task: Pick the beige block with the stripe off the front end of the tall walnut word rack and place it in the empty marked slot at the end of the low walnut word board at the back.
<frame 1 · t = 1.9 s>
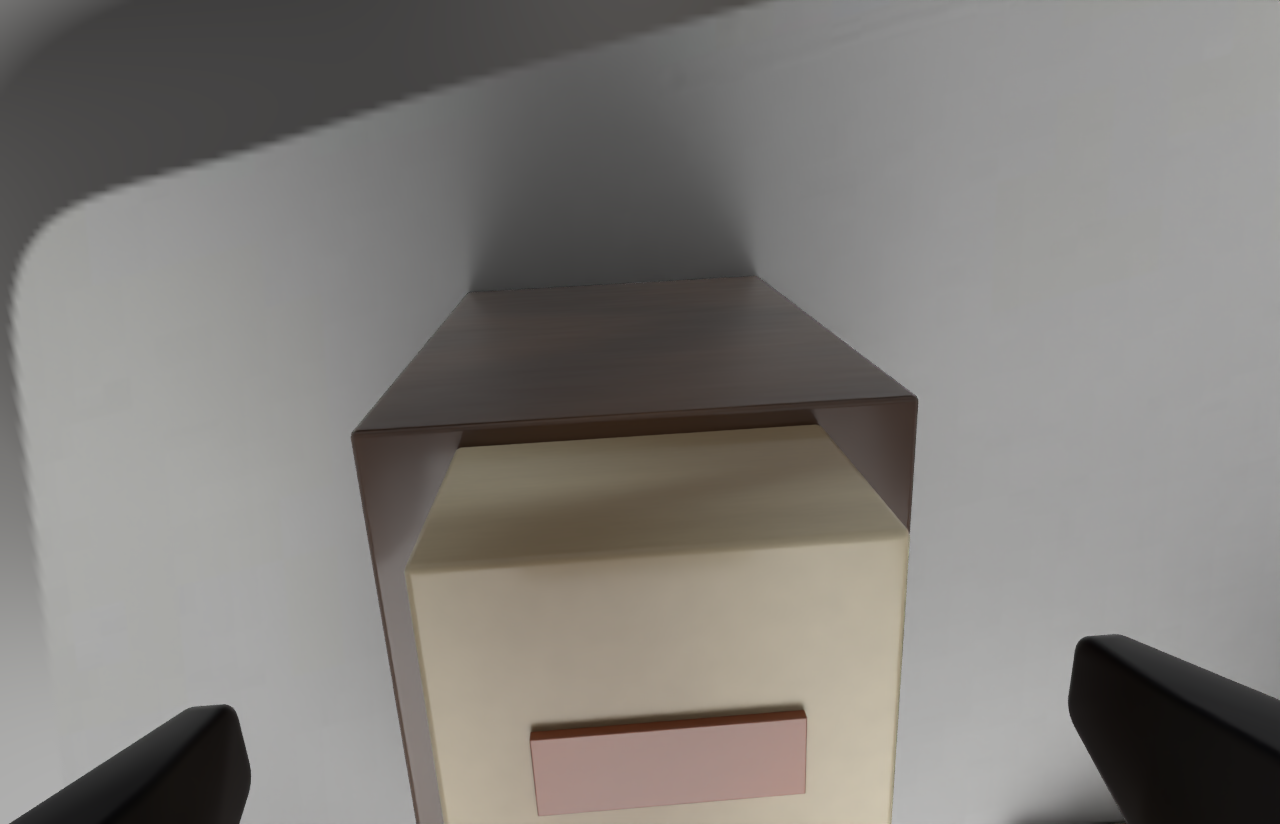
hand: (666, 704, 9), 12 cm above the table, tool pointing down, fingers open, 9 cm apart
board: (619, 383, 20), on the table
beige block with stripe: (647, 594, 11), point 10 cm above the table, touching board
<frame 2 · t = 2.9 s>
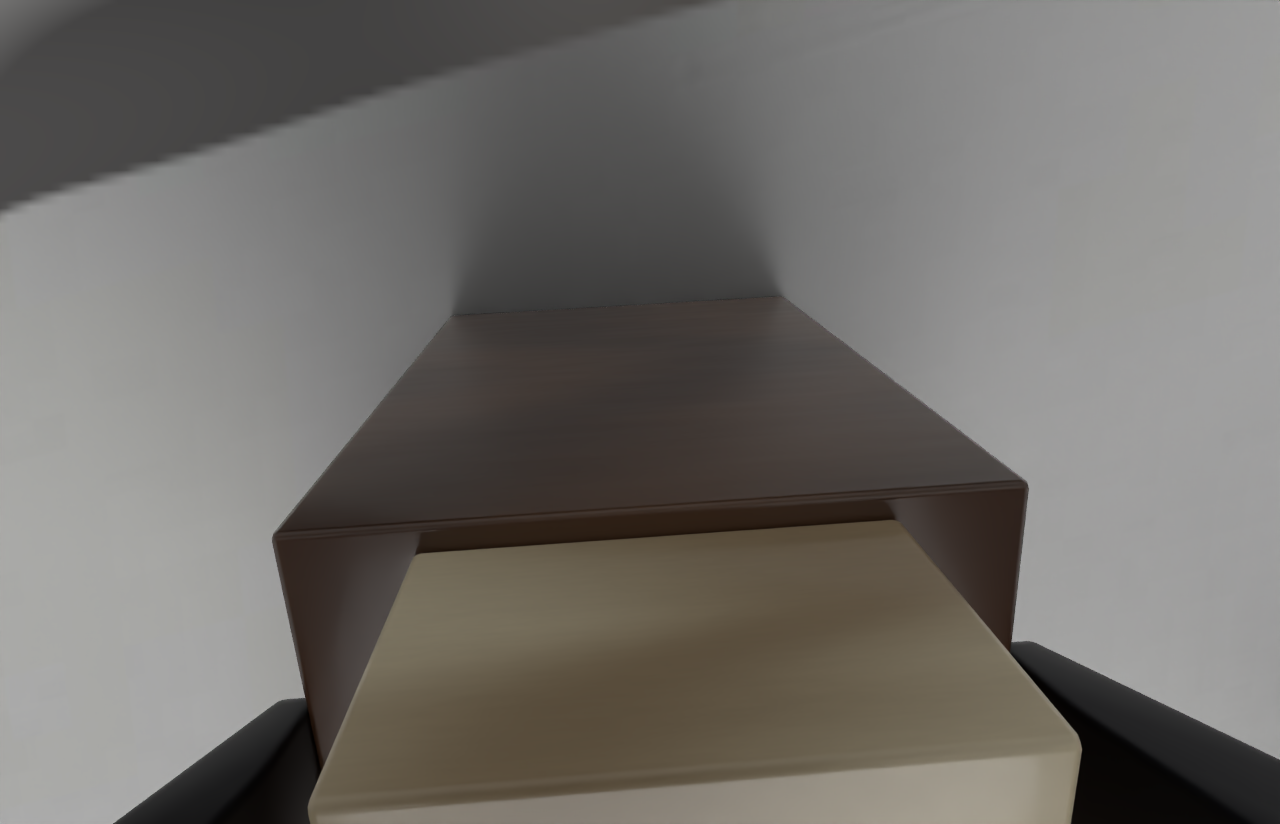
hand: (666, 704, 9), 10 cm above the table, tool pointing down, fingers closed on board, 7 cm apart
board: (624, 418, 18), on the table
beige block with stripe: (668, 734, 8), point 10 cm above the table, touching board
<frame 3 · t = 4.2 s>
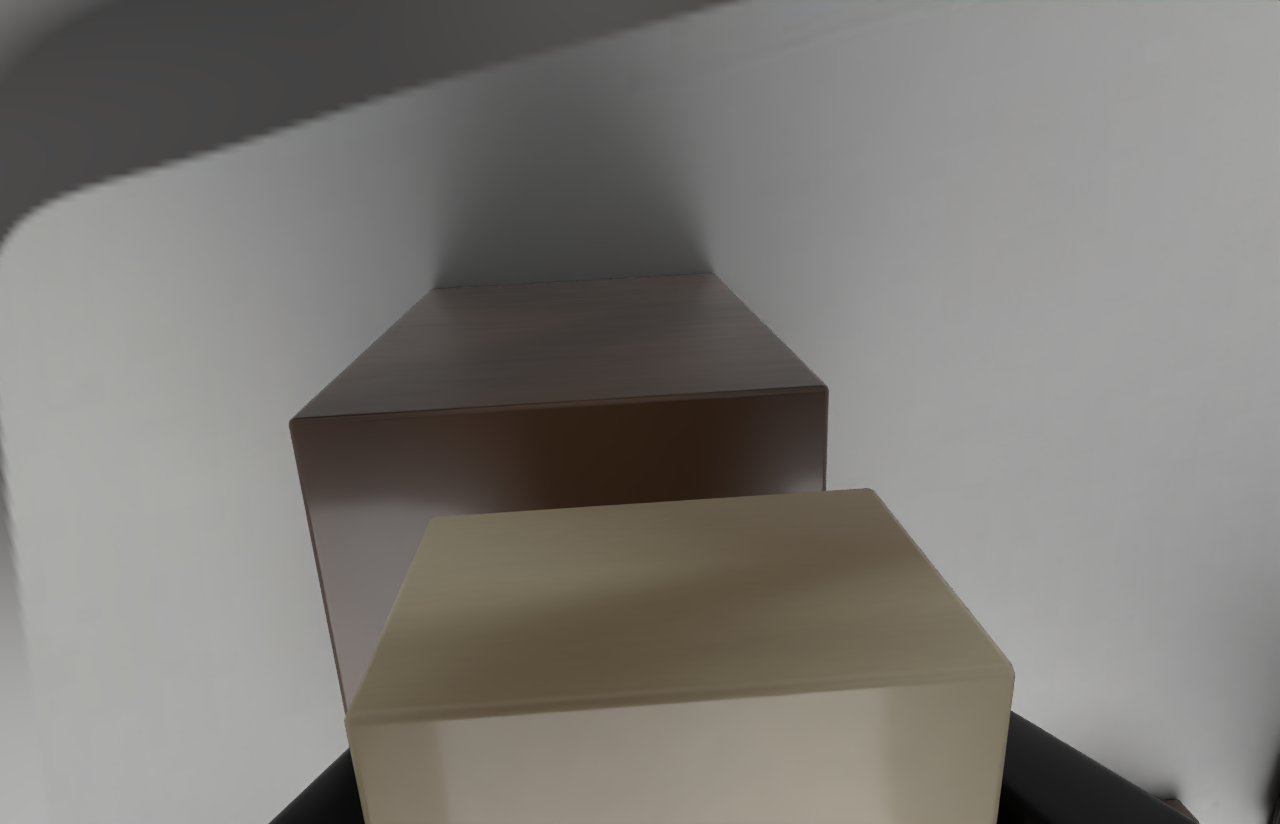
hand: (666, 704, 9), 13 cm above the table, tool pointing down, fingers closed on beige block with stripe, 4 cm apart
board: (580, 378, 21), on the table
beige block with stripe: (661, 685, 9), point 12 cm above the table, touching gripper
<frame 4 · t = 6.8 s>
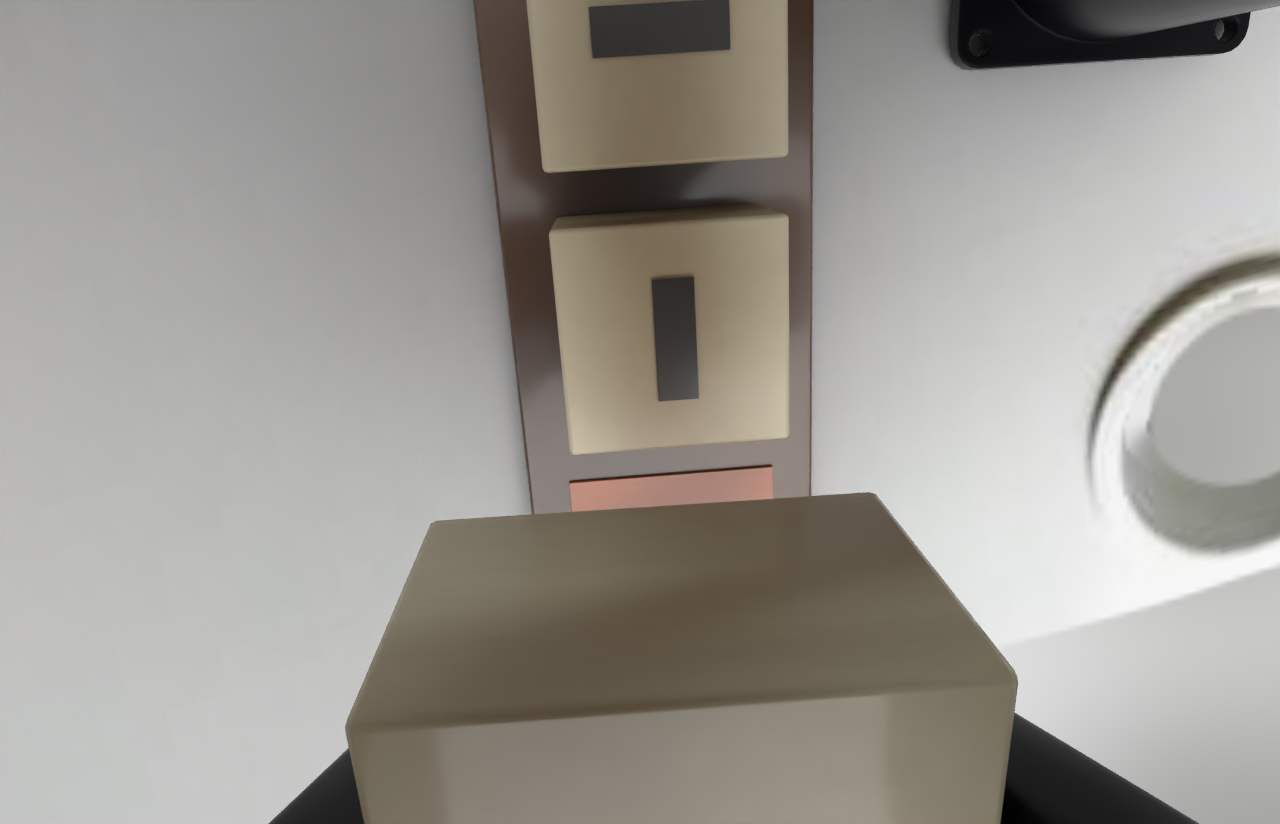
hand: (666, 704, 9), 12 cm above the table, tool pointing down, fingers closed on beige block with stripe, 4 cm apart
beige block with stripe: (663, 689, 9), point 12 cm above the table, touching gripper
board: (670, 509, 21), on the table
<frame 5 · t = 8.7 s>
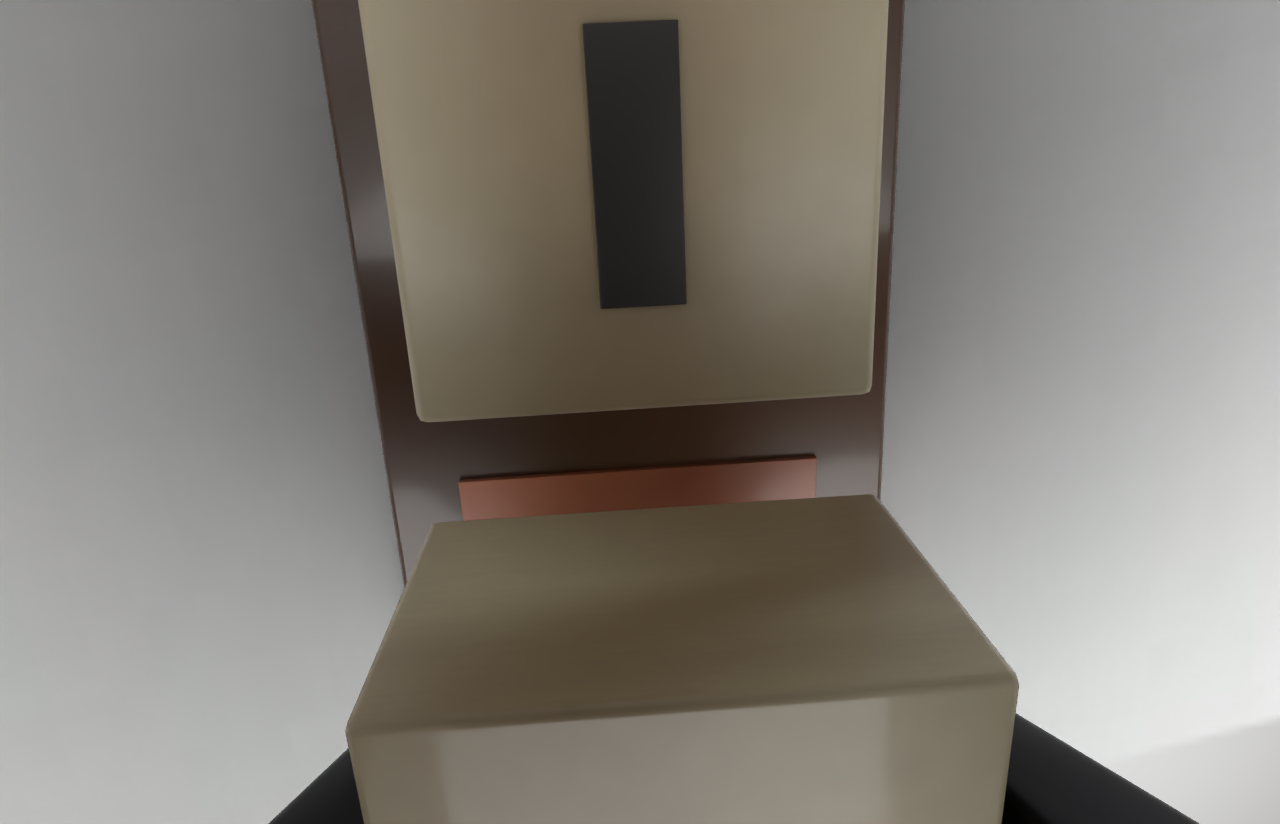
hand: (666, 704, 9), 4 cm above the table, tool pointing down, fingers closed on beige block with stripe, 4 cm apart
beige block with stripe: (663, 691, 9), point 4 cm above the table, touching gripper
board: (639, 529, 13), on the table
when the fingers open (1 cm above the table, at t = 9.8 s): beige block with stripe stays where it is, resting on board.
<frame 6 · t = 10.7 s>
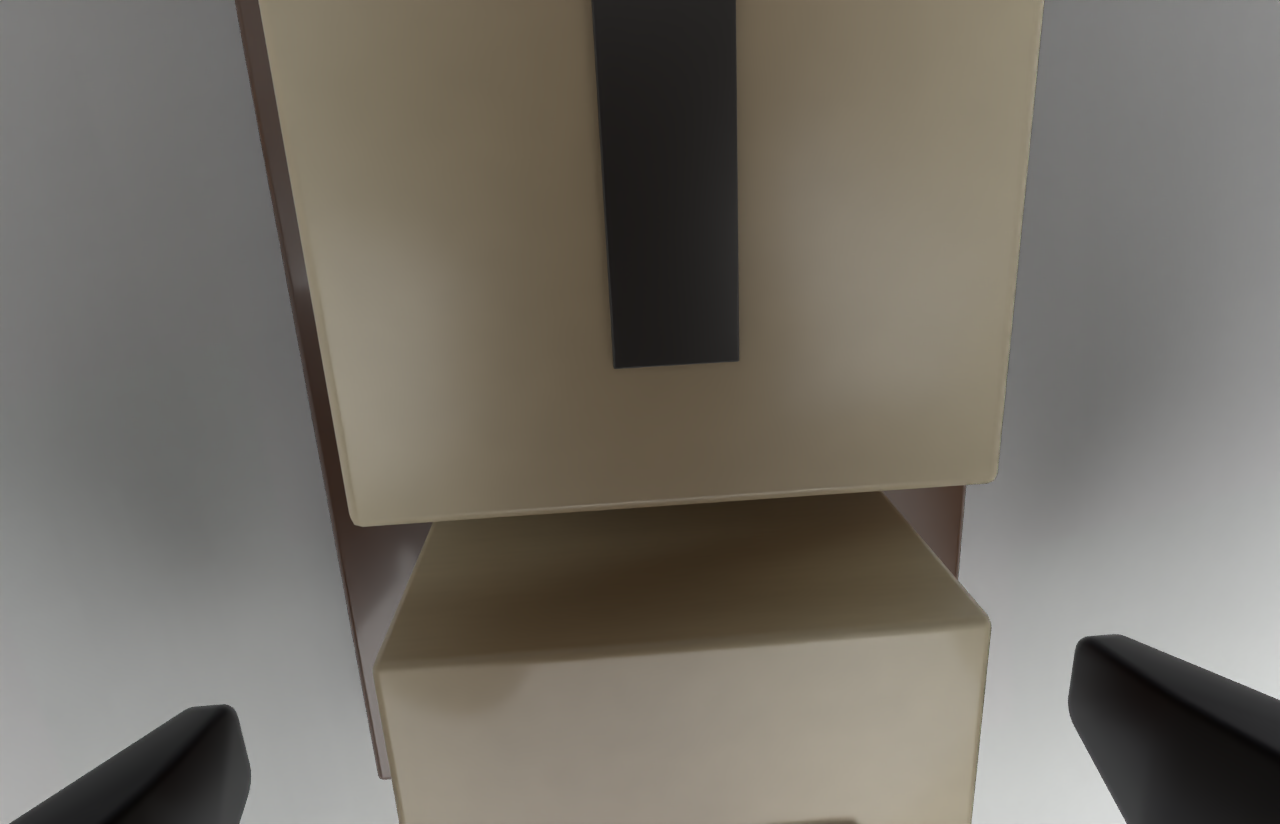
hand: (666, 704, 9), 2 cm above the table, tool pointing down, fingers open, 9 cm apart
beige block with stripe: (662, 658, 9), point 1 cm above the table, touching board
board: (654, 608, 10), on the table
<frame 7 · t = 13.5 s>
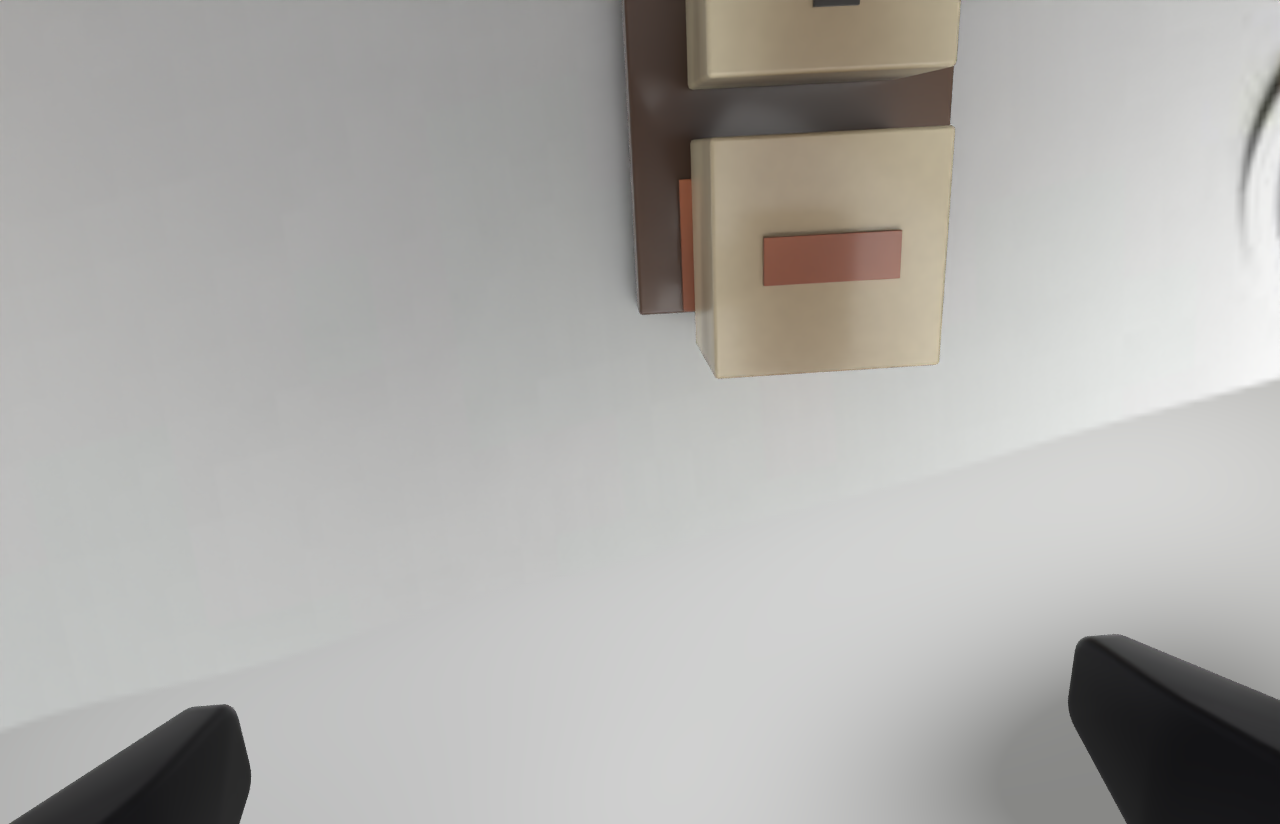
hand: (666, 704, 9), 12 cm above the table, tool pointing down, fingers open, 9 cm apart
beige block with stripe: (792, 240, 18), point 1 cm above the table, touching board
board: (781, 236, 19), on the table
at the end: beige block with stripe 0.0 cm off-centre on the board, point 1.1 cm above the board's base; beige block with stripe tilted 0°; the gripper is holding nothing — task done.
